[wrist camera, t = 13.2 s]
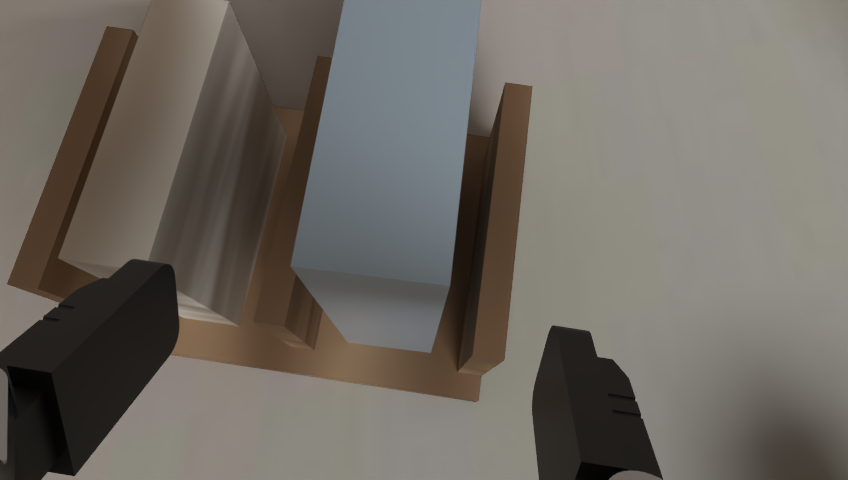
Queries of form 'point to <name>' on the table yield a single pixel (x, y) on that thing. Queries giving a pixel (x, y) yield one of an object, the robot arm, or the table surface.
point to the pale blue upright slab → (389, 170)
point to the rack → (251, 208)
